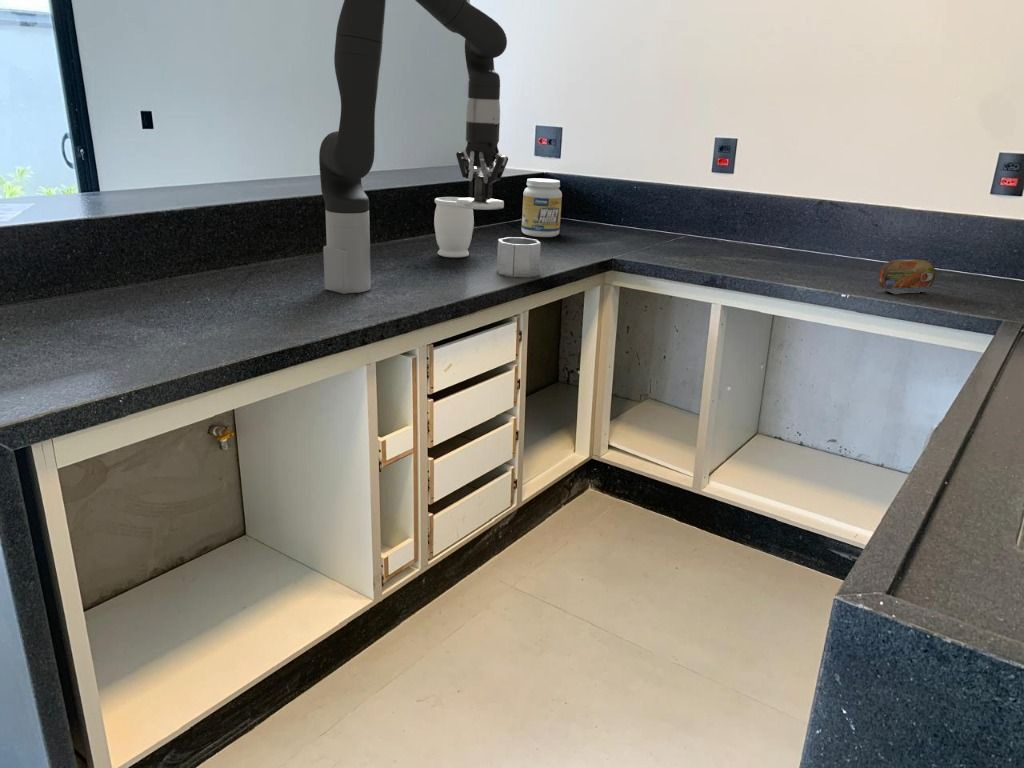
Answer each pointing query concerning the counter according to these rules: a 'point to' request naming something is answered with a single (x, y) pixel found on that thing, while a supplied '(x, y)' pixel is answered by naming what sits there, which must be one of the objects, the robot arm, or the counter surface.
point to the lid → (479, 198)
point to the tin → (907, 274)
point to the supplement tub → (541, 208)
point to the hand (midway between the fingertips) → (480, 198)
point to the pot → (518, 257)
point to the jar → (453, 227)
